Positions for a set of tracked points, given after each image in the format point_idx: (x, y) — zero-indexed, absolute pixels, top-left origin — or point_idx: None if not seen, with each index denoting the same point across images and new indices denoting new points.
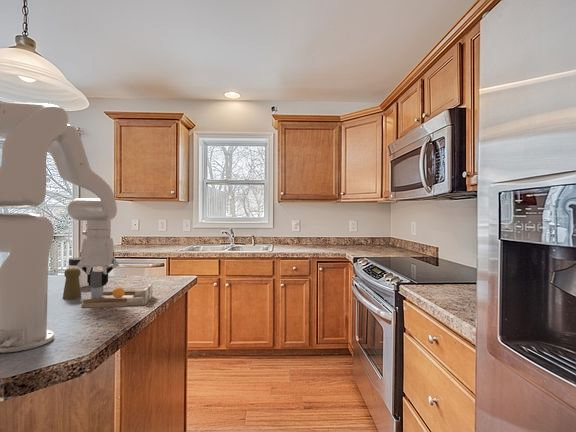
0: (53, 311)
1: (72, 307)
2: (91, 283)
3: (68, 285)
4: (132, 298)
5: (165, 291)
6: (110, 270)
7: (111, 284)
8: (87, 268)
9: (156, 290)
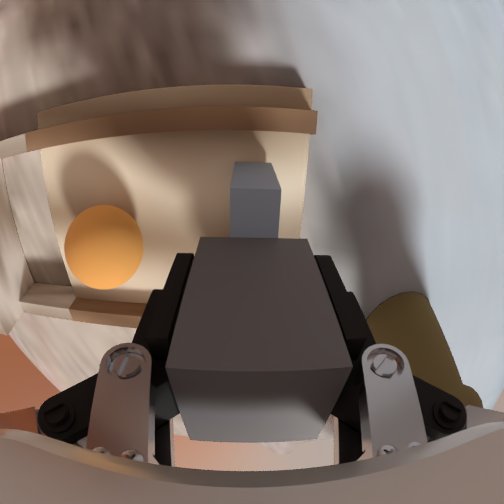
0: (427, 49)
1: (363, 105)
2: (303, 260)
3: (441, 347)
4: (5, 140)
5: (41, 356)
6: (67, 390)
7: (281, 449)
8: (414, 419)
9: (78, 377)
